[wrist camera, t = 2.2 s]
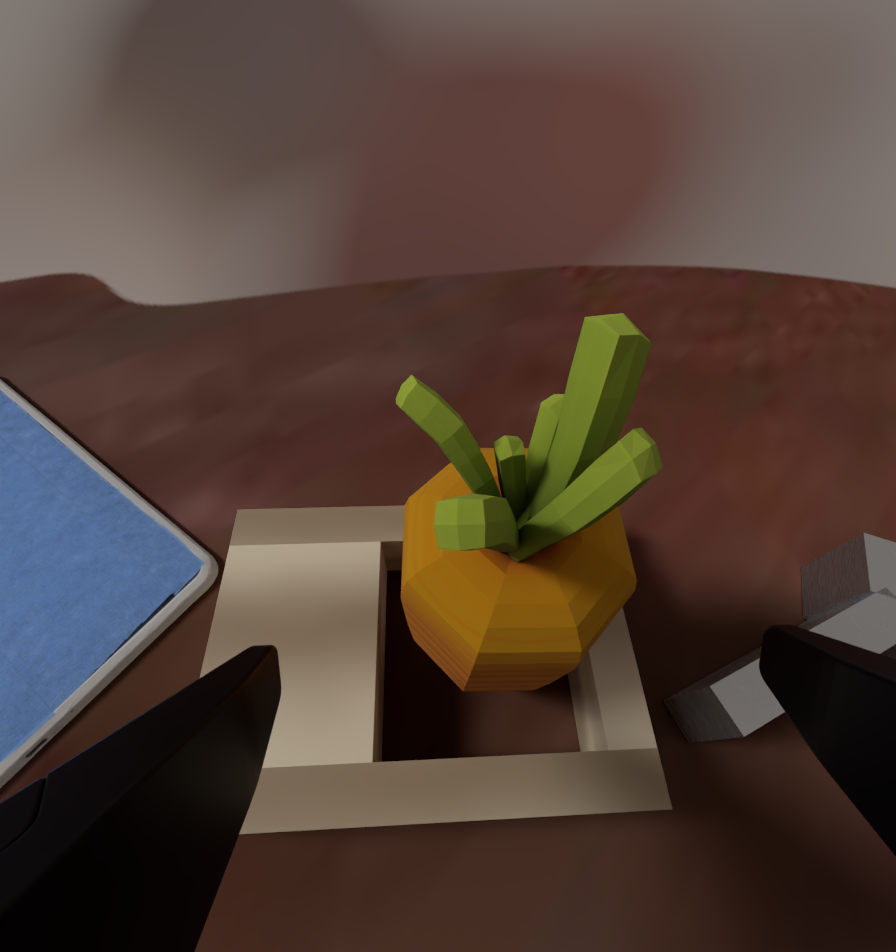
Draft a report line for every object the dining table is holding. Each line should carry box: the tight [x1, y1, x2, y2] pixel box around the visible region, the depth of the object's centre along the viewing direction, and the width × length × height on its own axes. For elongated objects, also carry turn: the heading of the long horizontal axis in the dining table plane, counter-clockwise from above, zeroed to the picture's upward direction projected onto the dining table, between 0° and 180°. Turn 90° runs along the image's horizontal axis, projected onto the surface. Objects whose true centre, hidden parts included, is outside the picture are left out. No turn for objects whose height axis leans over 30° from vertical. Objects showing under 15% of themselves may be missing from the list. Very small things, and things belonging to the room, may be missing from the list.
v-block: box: [663, 533, 896, 743], centre depth 16 cm, size 9×13×4 cm, turn 69°
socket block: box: [200, 506, 672, 834], centre depth 17 cm, size 10×14×3 cm
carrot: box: [396, 313, 662, 691], centre depth 12 cm, size 5×5×15 cm
